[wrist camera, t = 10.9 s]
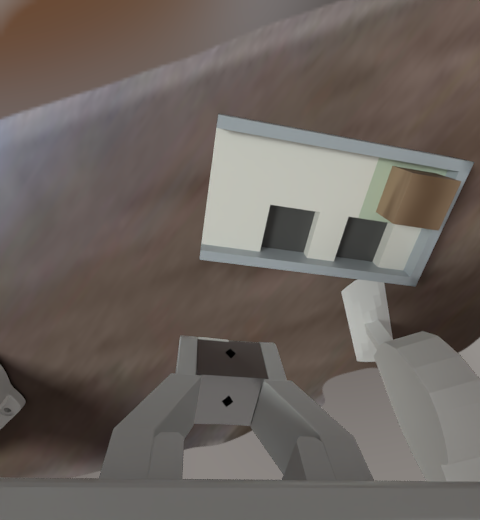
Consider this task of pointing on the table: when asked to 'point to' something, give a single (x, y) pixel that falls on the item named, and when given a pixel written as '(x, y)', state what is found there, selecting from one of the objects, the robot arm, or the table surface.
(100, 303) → the table surface
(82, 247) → the table surface
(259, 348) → the robot arm
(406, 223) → the walnut block
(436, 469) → the heart sculpture
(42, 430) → the table surface
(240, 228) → the track
